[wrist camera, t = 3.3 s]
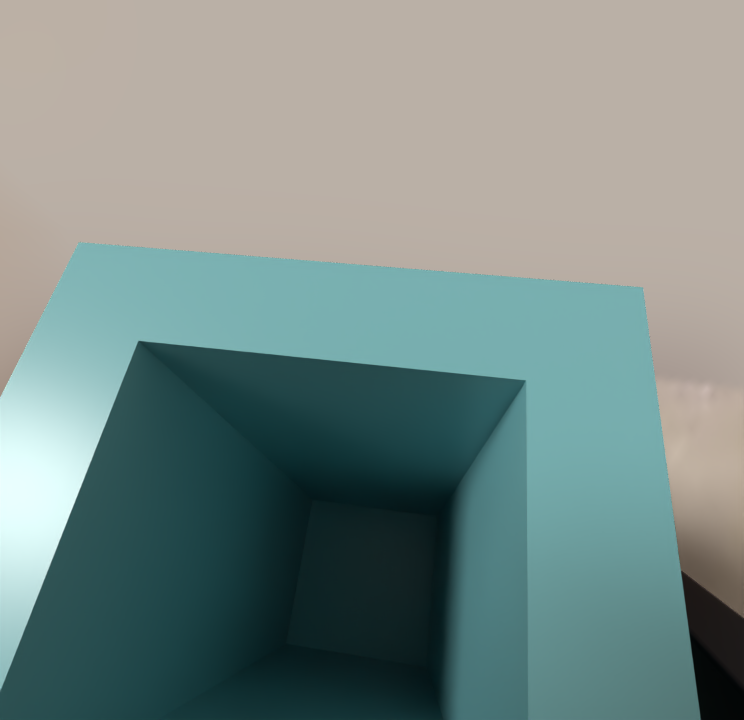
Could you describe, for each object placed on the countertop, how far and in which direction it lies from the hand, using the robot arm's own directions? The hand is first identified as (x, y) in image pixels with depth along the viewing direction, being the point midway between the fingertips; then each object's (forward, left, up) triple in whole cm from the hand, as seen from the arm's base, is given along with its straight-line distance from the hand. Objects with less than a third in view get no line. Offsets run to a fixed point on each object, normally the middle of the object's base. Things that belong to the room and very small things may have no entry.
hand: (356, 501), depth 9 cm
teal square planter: (-1, +1, -7) cm, 7 cm away
